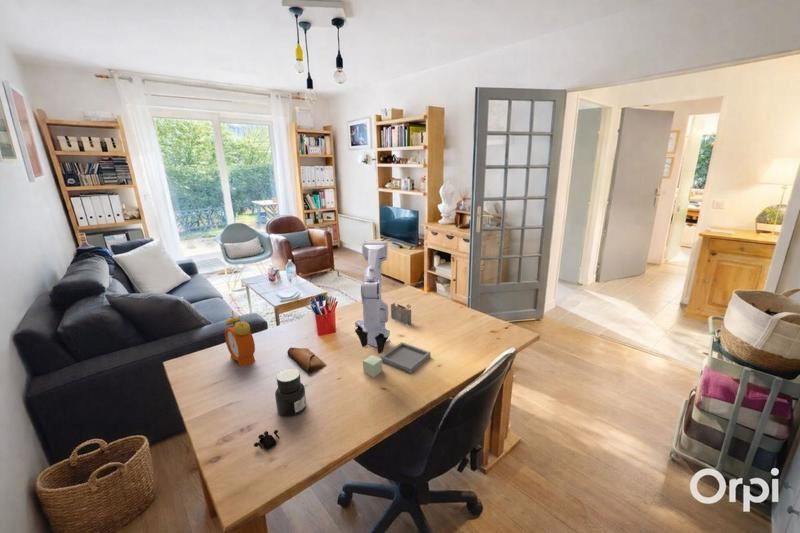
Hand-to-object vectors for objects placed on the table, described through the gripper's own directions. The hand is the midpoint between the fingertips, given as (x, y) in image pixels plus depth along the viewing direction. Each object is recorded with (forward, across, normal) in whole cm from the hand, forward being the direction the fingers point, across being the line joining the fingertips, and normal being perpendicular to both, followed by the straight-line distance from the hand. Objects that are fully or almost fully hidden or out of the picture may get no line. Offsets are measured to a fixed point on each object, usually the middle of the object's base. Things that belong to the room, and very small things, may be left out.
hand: (372, 349), depth 124 cm
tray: (+9, +5, +14) cm, 18 cm away
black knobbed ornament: (+10, -2, -43) cm, 44 cm away
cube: (+10, 0, 0) cm, 10 cm away
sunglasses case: (+10, -26, -9) cm, 29 cm away
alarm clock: (+10, -47, -24) cm, 54 cm away
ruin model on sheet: (+10, -17, +41) cm, 45 cm away
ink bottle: (+10, -8, -30) cm, 33 cm away
